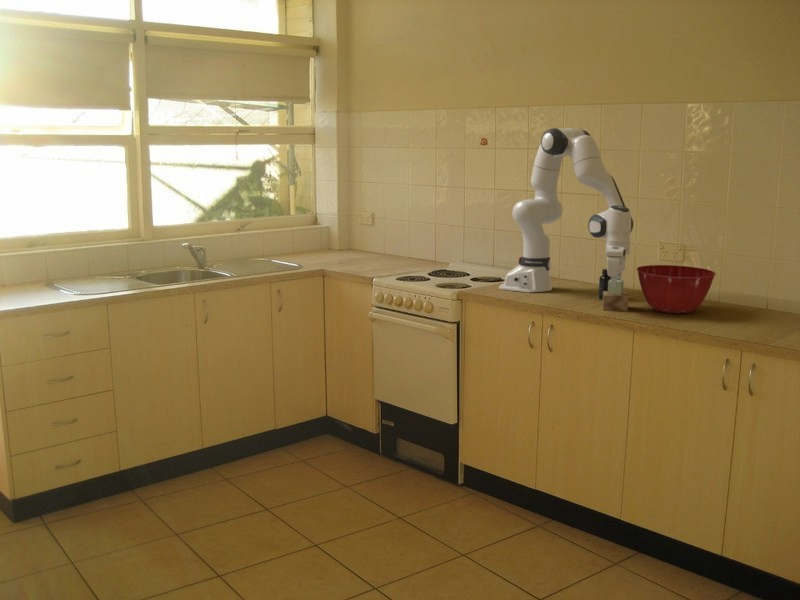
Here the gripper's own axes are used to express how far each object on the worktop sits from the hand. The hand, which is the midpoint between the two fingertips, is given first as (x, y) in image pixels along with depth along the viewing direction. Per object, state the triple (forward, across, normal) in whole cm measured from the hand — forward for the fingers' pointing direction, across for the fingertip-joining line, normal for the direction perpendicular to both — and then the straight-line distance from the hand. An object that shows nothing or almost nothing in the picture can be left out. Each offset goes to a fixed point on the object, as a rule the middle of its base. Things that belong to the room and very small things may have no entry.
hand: (615, 285), depth 314 cm
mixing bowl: (+9, -5, +21) cm, 24 cm away
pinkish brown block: (+9, 0, 0) cm, 9 cm away
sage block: (+3, 0, 0) cm, 3 cm away
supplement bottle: (+9, -19, -6) cm, 22 cm away
